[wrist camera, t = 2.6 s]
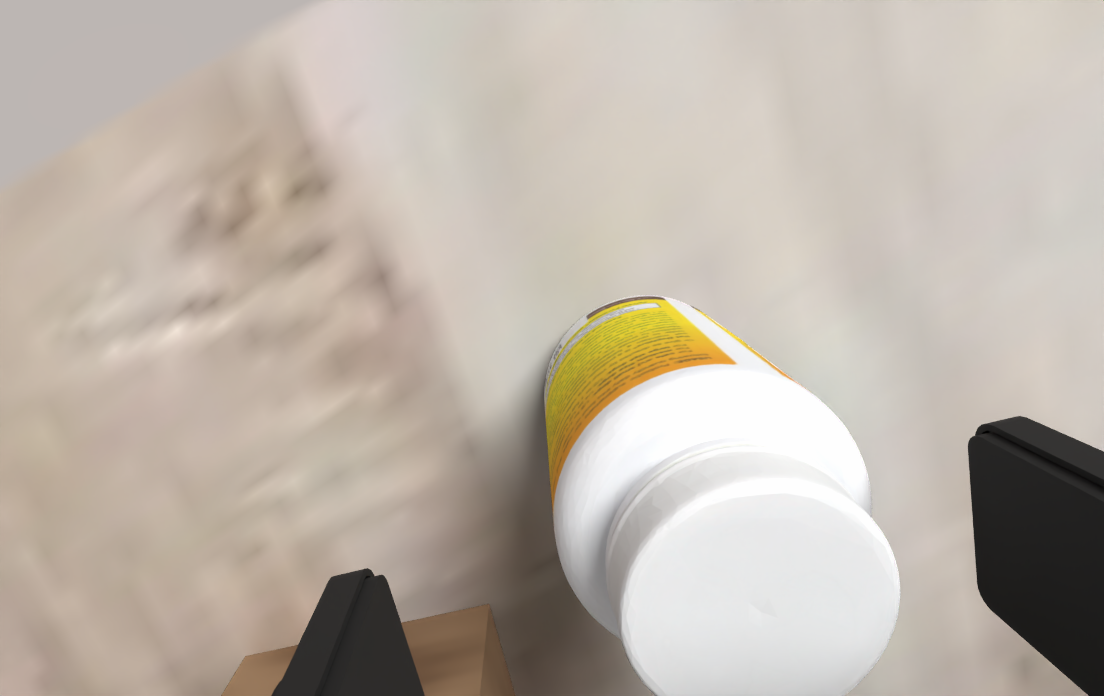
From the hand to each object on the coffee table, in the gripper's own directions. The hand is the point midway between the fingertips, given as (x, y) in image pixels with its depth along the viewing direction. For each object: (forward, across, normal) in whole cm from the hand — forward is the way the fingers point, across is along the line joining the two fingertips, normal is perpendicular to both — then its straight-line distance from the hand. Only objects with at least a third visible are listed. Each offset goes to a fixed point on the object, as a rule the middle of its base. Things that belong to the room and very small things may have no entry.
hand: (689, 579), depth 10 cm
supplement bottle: (+9, -1, 0) cm, 9 cm away
